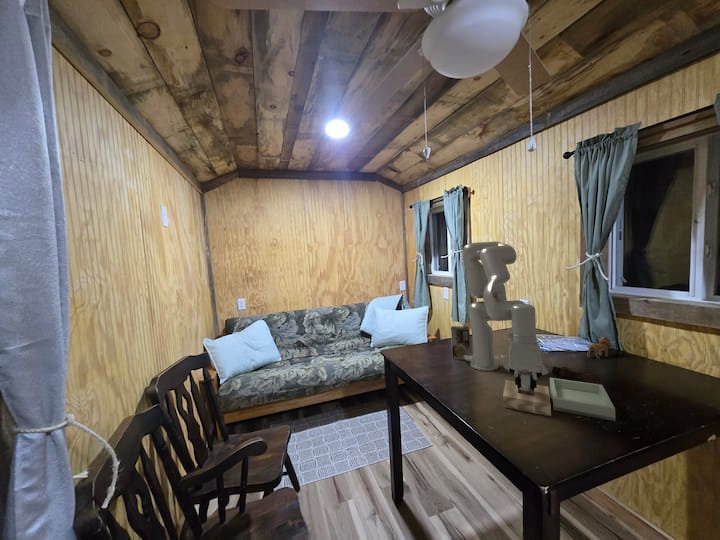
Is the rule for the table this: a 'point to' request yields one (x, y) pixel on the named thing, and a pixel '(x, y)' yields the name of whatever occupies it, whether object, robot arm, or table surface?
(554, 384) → the tray
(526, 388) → the pin
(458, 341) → the coffee box
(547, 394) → the socket block
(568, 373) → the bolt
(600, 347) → the lion figurine
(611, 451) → the table surface
